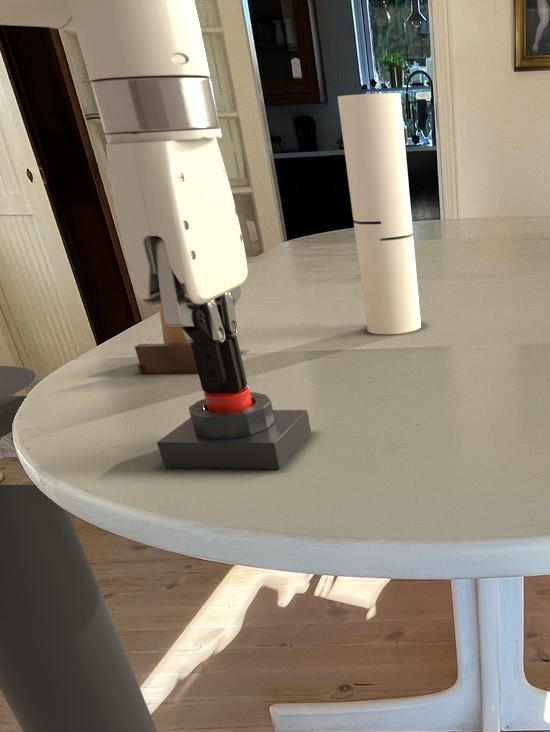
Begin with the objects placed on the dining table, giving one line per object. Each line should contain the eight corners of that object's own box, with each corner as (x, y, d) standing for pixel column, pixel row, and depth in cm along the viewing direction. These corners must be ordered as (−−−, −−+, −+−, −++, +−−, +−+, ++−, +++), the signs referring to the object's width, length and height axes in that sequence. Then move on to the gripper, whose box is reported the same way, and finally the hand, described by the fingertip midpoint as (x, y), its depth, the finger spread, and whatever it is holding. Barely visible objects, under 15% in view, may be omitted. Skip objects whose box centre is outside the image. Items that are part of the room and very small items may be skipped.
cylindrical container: (377, 321, 102) (350, 97, 87) (427, 321, 100) (408, 93, 86) (360, 334, 96) (328, 96, 82) (412, 334, 95) (389, 92, 80)
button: (201, 418, 60) (196, 397, 59) (220, 404, 63) (215, 383, 62) (243, 418, 60) (238, 397, 59) (260, 404, 62) (255, 383, 61)
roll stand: (240, 352, 91) (234, 326, 90) (208, 373, 84) (201, 345, 82) (176, 352, 92) (169, 327, 91) (139, 373, 85) (131, 346, 83)
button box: (164, 468, 61) (149, 420, 58) (207, 433, 67) (195, 389, 65) (279, 469, 59) (269, 420, 57) (311, 434, 66) (303, 389, 63)
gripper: (161, 116, 56) (221, 364, 67) (40, 119, 44) (136, 421, 55) (255, 111, 55) (300, 364, 66) (156, 113, 43) (231, 421, 54)
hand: (225, 389), depth 60 cm, fingers closed
